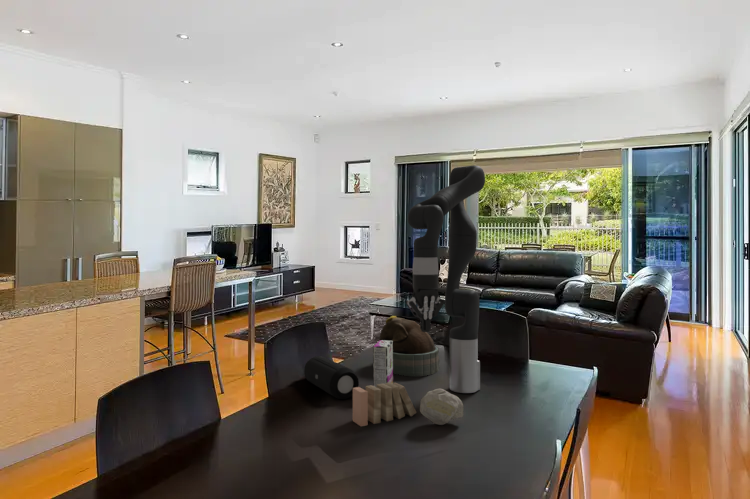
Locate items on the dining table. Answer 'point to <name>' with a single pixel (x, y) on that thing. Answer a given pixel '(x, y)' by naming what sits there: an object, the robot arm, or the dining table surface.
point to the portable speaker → (331, 377)
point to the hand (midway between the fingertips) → (425, 331)
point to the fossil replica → (441, 406)
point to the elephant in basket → (410, 348)
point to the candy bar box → (383, 362)
